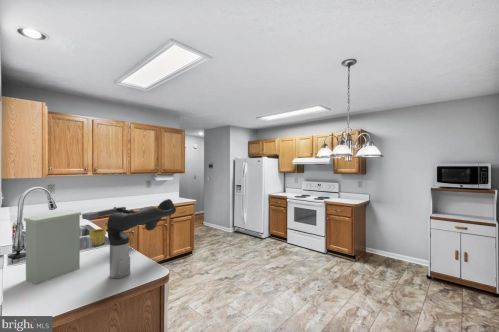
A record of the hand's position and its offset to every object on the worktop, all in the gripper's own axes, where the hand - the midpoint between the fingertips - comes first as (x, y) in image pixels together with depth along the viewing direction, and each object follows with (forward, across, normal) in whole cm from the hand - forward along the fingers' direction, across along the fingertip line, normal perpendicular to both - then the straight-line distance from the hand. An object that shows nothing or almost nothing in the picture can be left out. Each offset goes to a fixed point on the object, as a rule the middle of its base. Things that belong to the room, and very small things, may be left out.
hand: (115, 208), depth 160 cm
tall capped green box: (+16, 0, -43) cm, 46 cm away
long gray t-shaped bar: (+4, 0, -6) cm, 7 cm away
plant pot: (-19, +26, -23) cm, 40 cm away
